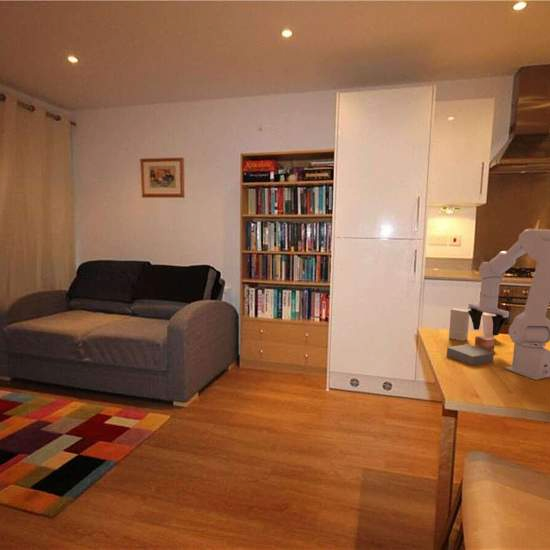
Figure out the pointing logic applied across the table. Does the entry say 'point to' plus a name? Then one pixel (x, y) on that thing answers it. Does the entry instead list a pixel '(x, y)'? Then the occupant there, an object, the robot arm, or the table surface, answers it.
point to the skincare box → (459, 324)
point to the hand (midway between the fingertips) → (485, 332)
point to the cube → (485, 343)
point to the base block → (470, 354)
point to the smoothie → (488, 325)
